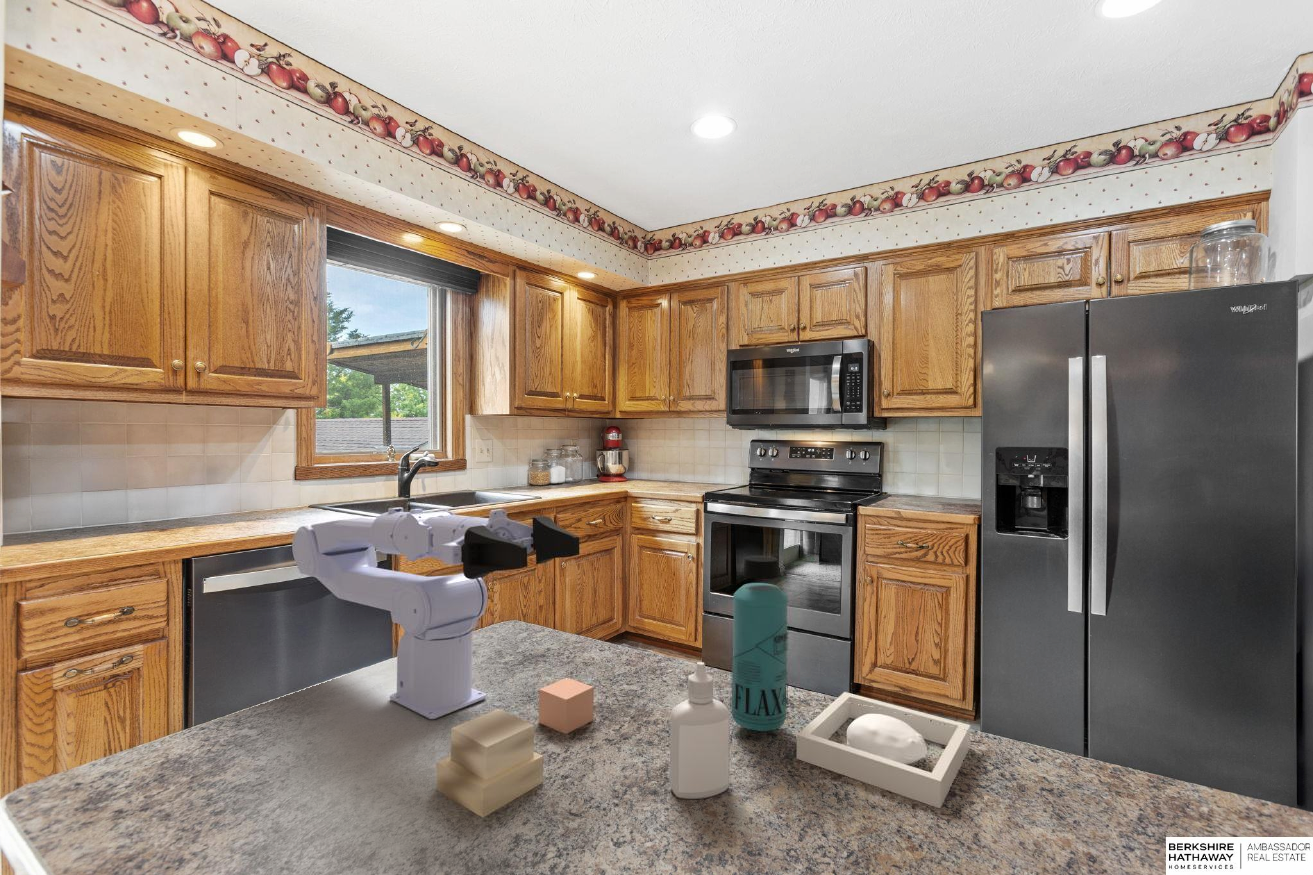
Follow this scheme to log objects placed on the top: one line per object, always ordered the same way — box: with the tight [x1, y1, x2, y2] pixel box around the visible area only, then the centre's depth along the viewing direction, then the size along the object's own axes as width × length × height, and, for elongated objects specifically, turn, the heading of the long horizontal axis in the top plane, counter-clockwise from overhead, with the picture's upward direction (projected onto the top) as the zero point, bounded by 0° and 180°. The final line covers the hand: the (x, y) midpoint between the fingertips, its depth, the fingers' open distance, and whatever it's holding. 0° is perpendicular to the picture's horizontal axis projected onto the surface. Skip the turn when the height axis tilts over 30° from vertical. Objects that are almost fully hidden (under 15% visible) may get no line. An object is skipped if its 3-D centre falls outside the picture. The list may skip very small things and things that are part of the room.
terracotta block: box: [538, 677, 595, 735], centre depth 72 cm, size 4×4×4 cm
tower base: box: [435, 751, 544, 818], centre depth 59 cm, size 7×7×3 cm
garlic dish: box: [796, 691, 971, 809], centre depth 66 cm, size 14×14×2 cm
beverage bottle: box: [729, 555, 789, 731], centre depth 70 cm, size 6×7×20 cm
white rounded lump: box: [846, 714, 928, 765], centre depth 65 cm, size 8×7×4 cm
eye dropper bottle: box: [668, 661, 731, 800], centre depth 58 cm, size 4×6×12 cm
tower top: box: [450, 708, 535, 780], centre depth 59 cm, size 6×6×3 cm
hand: (552, 551), depth 66 cm, fingers open, 7 cm apart
